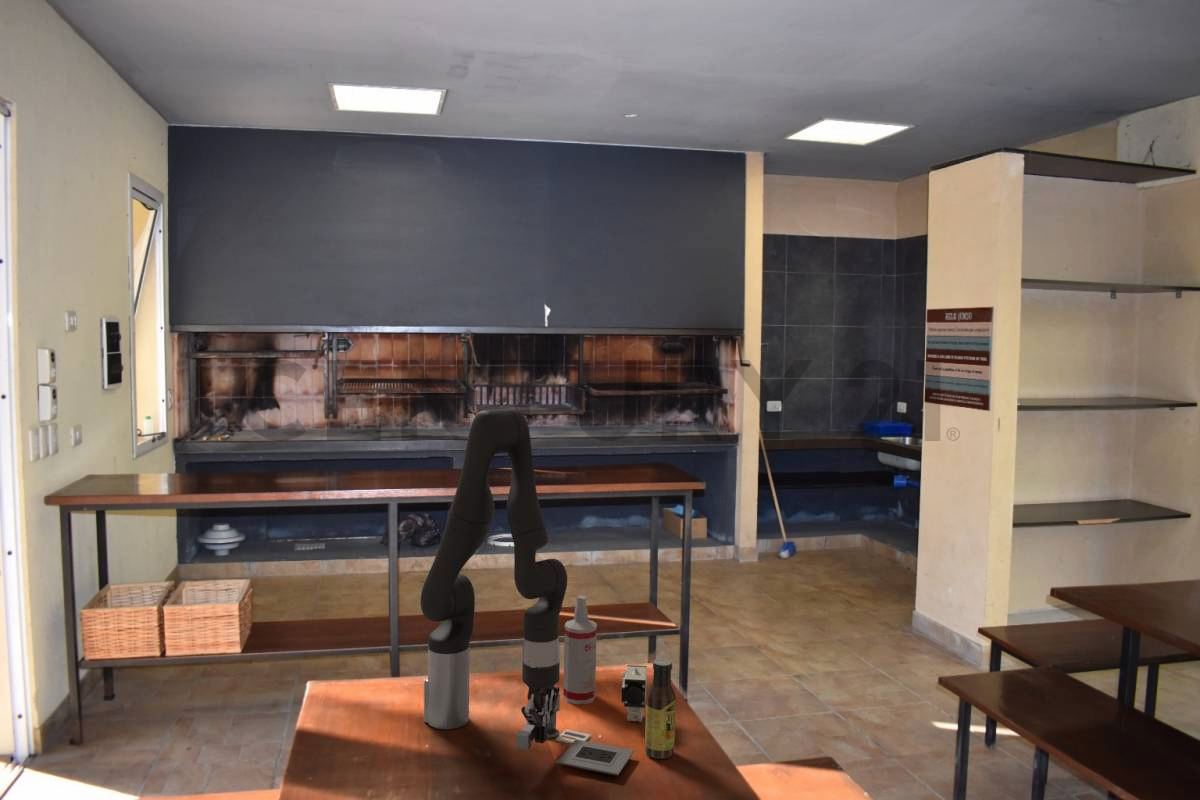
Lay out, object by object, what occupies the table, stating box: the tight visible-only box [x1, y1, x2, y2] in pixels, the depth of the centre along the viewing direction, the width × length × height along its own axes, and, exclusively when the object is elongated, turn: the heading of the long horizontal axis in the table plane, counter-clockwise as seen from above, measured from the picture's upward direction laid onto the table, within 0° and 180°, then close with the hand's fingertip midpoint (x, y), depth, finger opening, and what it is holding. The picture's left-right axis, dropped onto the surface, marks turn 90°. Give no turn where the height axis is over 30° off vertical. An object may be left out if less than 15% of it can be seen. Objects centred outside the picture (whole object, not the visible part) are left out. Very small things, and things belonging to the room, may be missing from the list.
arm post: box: [547, 712, 560, 740], centre depth 197 cm, size 4×4×6 cm
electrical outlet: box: [556, 739, 635, 777], centre depth 185 cm, size 13×10×2 cm
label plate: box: [555, 728, 592, 745], centre depth 196 cm, size 6×5×1 cm
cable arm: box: [515, 694, 561, 751], centre depth 188 cm, size 21×4×3 cm, turn 166°
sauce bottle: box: [644, 658, 677, 760], centre depth 189 cm, size 6×6×20 cm
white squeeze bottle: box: [562, 595, 598, 705], centre depth 216 cm, size 8×8×25 cm
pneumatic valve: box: [621, 664, 648, 723], centre depth 206 cm, size 6×12×12 cm, turn 175°
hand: (540, 741), depth 182 cm, fingers closed
